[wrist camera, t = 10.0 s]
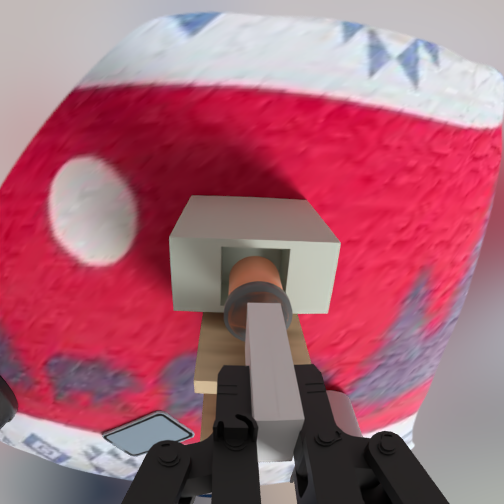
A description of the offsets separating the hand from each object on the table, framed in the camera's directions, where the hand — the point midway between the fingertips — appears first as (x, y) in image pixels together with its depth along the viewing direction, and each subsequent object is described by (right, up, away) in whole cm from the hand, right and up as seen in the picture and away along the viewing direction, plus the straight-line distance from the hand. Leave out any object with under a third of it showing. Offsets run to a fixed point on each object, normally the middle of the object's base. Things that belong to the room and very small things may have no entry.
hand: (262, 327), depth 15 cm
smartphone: (-17, -24, +27) cm, 40 cm away
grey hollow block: (-1, +6, +14) cm, 15 cm away
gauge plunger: (0, +2, +4) cm, 5 cm away
